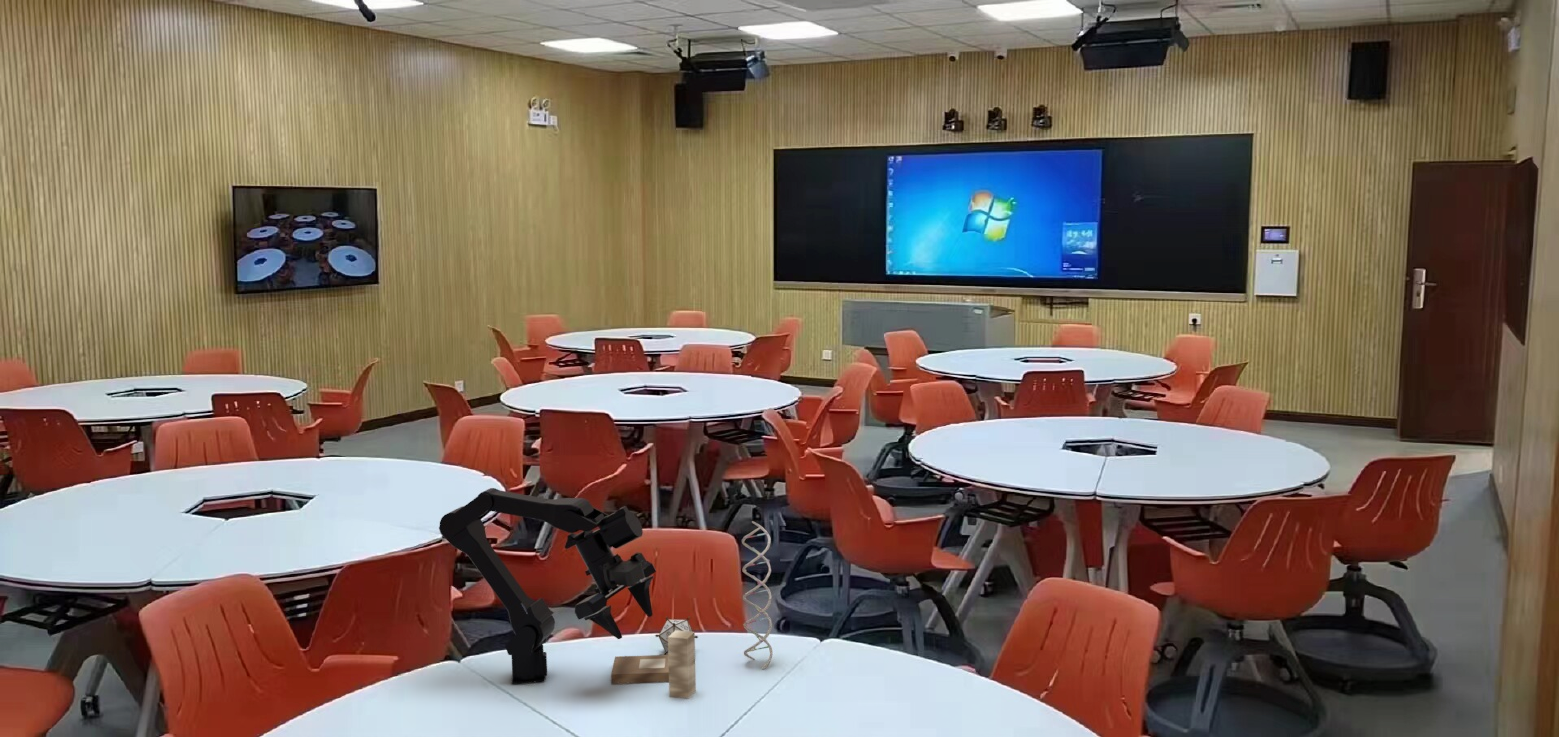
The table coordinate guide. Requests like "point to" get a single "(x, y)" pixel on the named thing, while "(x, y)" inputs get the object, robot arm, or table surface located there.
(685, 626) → the game die
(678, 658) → the maple pillar
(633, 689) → the table surface
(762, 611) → the dna model
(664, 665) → the walnut slab
